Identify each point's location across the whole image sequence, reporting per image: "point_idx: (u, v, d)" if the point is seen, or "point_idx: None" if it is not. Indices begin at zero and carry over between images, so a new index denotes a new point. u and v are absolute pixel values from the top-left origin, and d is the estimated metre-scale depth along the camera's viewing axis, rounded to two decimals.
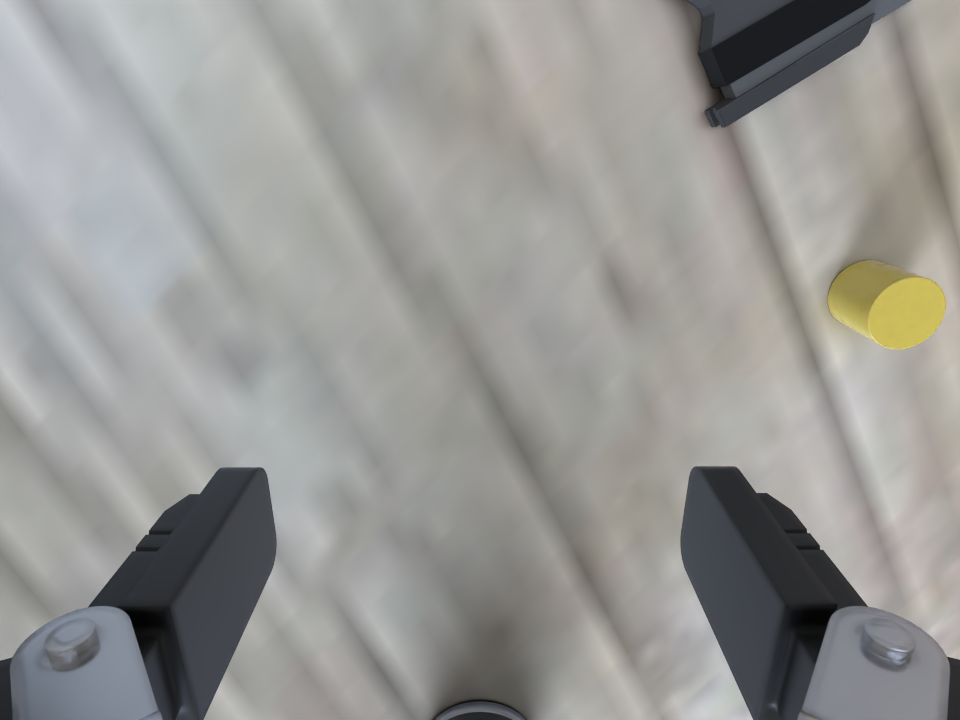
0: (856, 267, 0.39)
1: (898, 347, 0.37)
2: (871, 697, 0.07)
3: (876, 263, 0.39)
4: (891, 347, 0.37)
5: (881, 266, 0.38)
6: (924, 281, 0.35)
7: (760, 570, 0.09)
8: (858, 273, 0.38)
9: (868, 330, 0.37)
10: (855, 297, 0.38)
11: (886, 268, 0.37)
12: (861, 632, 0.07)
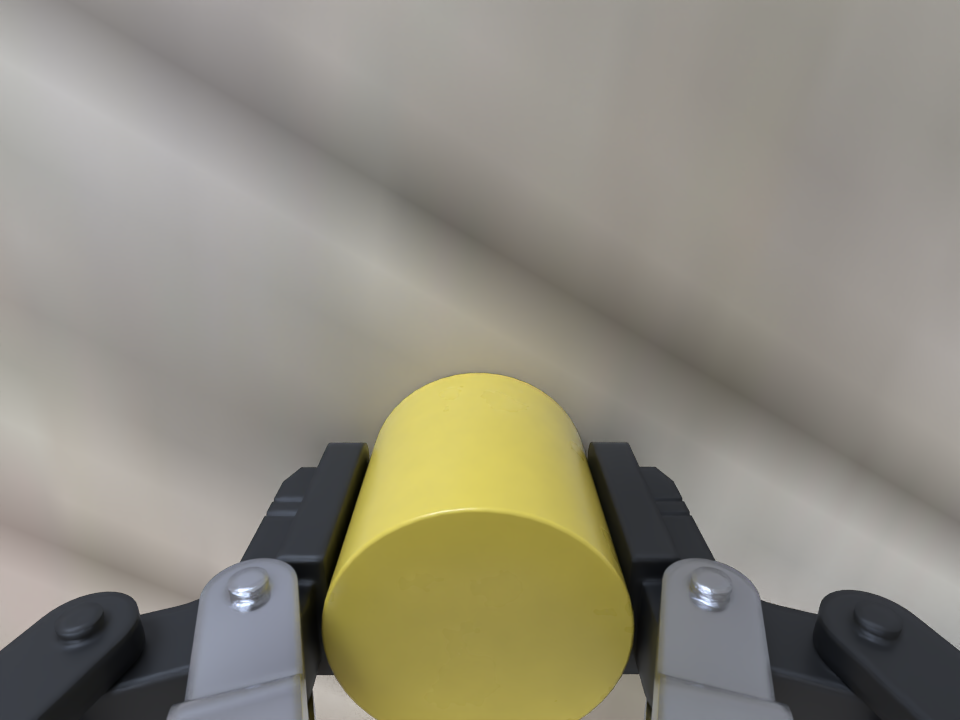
0: None
1: (393, 537, 0.08)
2: (708, 642, 0.07)
3: None
4: (420, 523, 0.08)
5: None
6: None
7: (622, 530, 0.09)
8: None
9: (563, 525, 0.08)
10: (606, 523, 0.10)
11: None
12: (689, 580, 0.08)
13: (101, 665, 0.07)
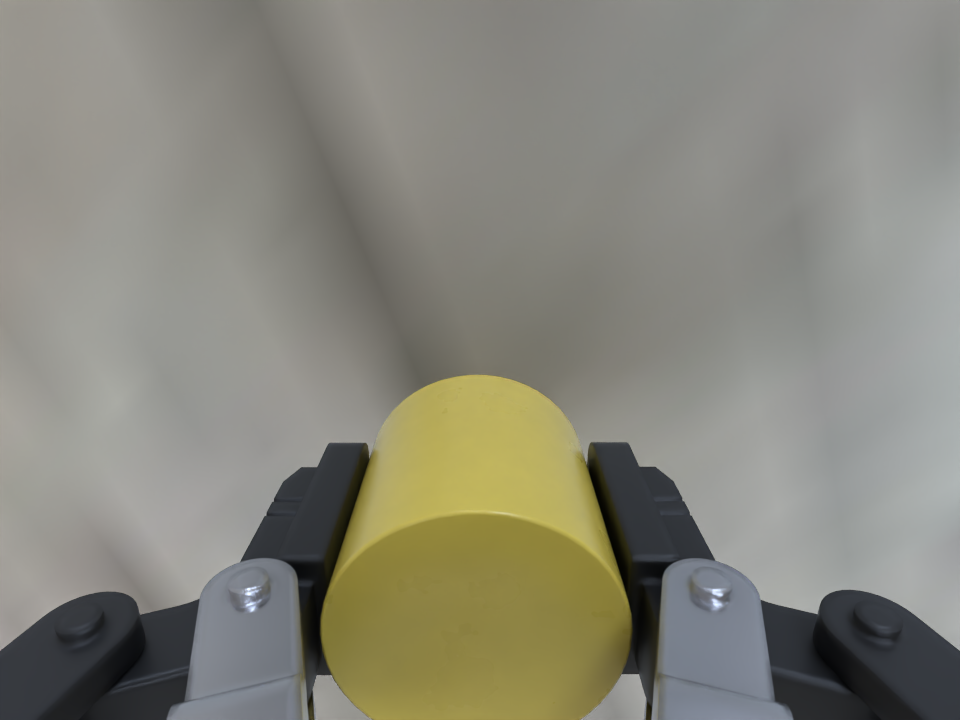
0: None
1: (391, 539, 0.08)
2: (708, 642, 0.07)
3: None
4: (418, 526, 0.08)
5: None
6: None
7: (622, 531, 0.09)
8: None
9: (561, 528, 0.08)
10: None
11: None
12: (689, 580, 0.08)
13: (101, 665, 0.07)
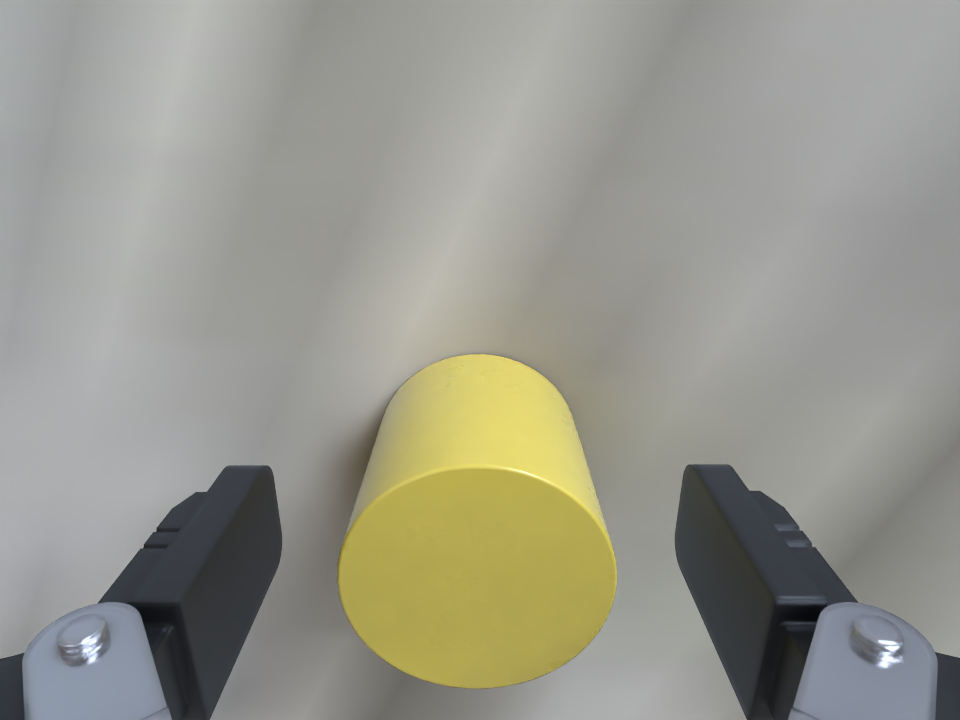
0: None
1: (402, 491, 0.09)
2: (861, 693, 0.07)
3: None
4: (425, 478, 0.09)
5: None
6: (510, 677, 0.10)
7: (752, 567, 0.09)
8: None
9: (553, 481, 0.09)
10: None
11: None
12: (850, 628, 0.07)
13: None
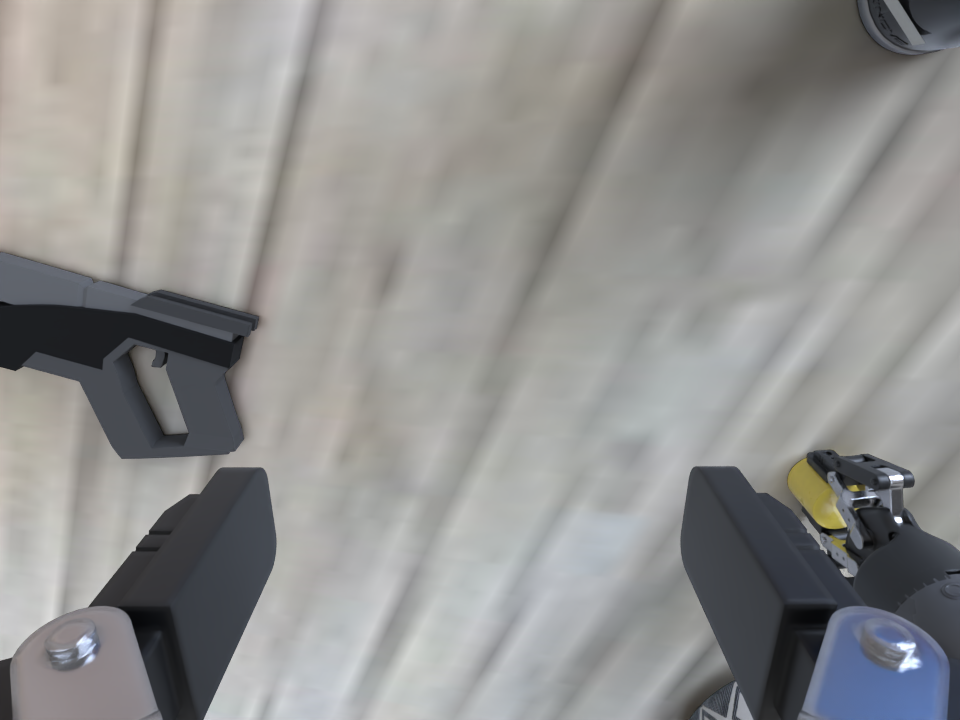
0: None
1: (831, 488, 0.50)
2: (871, 697, 0.07)
3: None
4: None
5: None
6: (841, 526, 0.52)
7: (760, 570, 0.09)
8: None
9: None
10: None
11: None
12: (861, 632, 0.07)
13: None
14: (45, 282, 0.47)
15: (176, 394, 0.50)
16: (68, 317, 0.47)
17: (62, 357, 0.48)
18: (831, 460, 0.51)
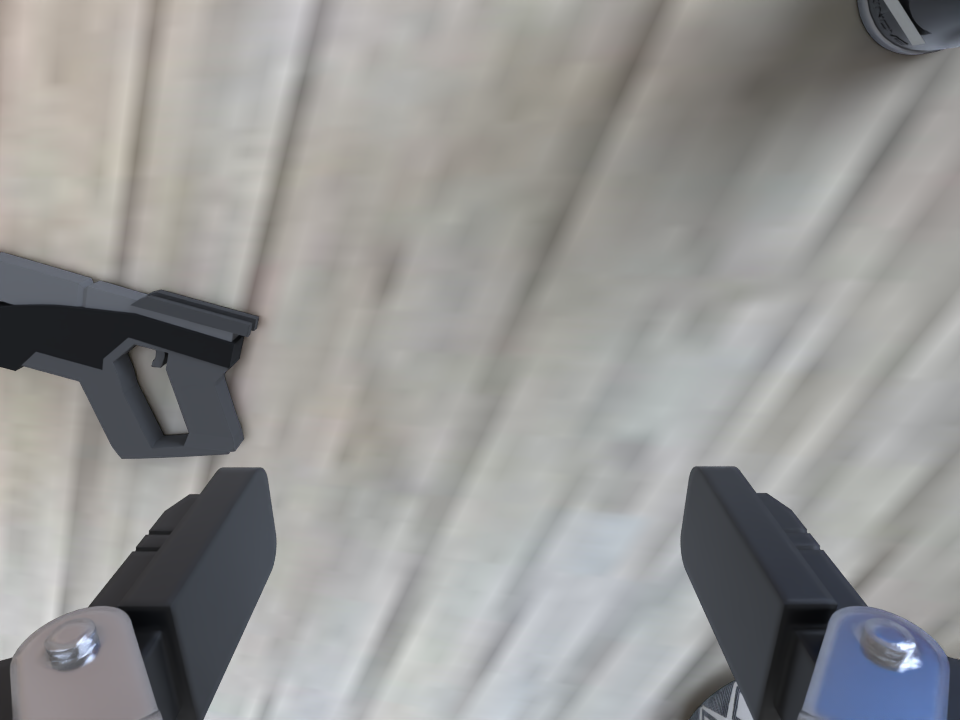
0: None
1: None
2: (871, 697, 0.07)
3: None
4: None
5: None
6: None
7: (760, 570, 0.09)
8: None
9: None
10: None
11: None
12: (861, 632, 0.07)
13: None
14: (45, 282, 0.47)
15: (176, 394, 0.50)
16: (68, 317, 0.47)
17: (62, 357, 0.48)
18: None
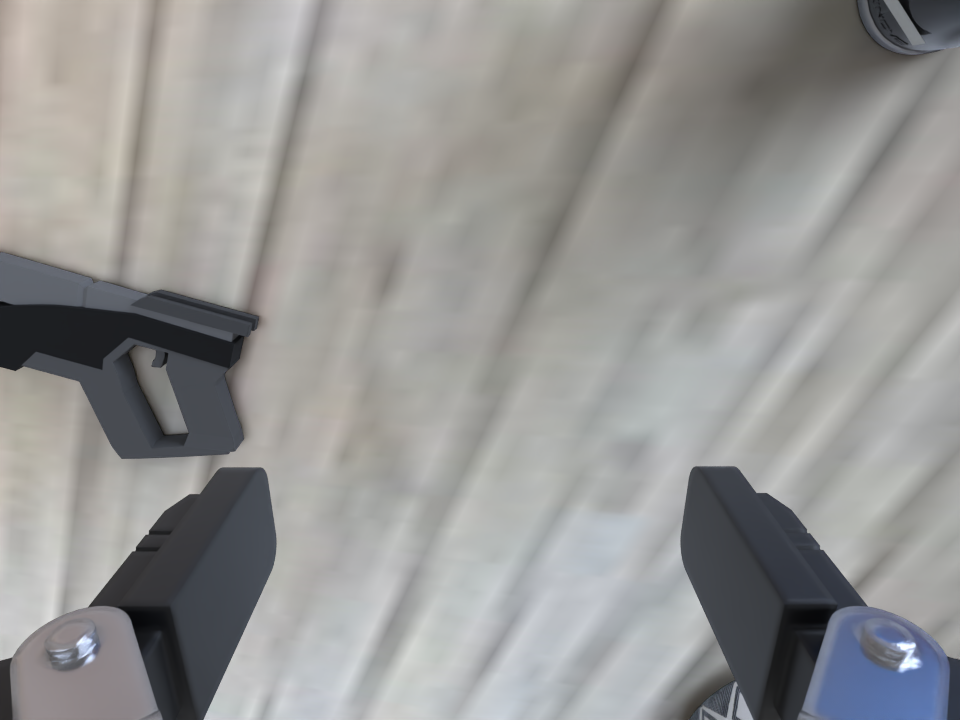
0: None
1: None
2: (871, 697, 0.07)
3: None
4: None
5: None
6: None
7: (760, 570, 0.09)
8: None
9: None
10: None
11: None
12: (861, 632, 0.07)
13: None
14: (45, 282, 0.47)
15: (176, 394, 0.50)
16: (68, 317, 0.47)
17: (62, 357, 0.48)
18: None
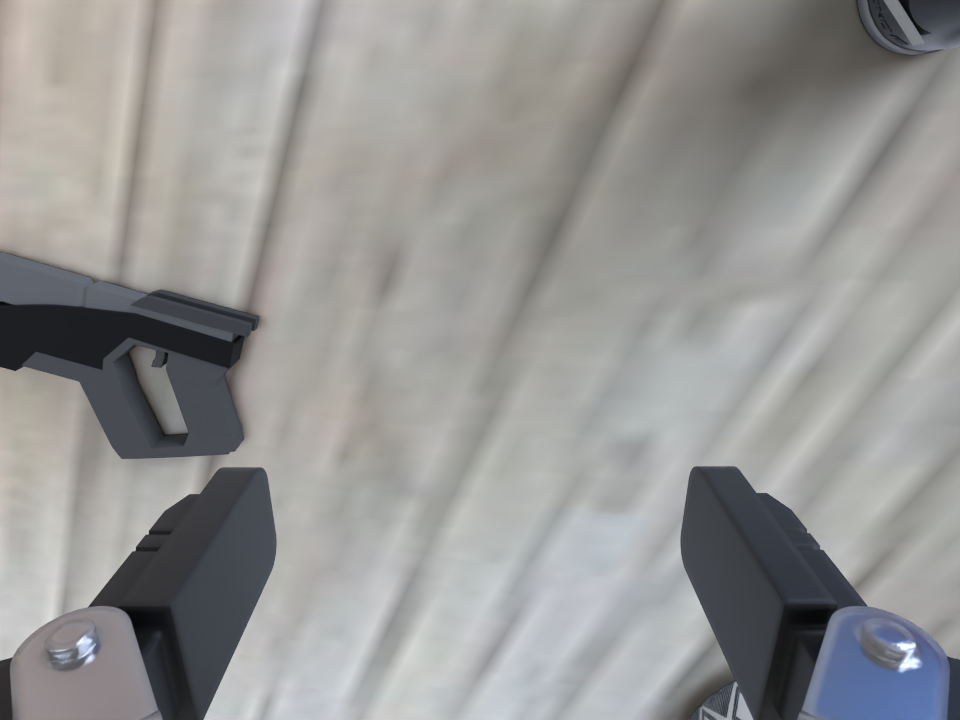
0: None
1: None
2: (871, 697, 0.07)
3: None
4: None
5: None
6: None
7: (760, 570, 0.09)
8: None
9: None
10: None
11: None
12: (861, 632, 0.07)
13: None
14: (45, 282, 0.47)
15: (176, 394, 0.50)
16: (68, 317, 0.47)
17: (62, 357, 0.48)
18: None
